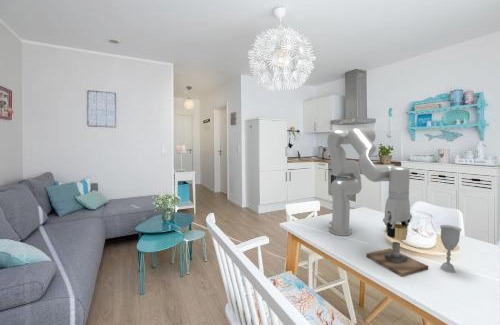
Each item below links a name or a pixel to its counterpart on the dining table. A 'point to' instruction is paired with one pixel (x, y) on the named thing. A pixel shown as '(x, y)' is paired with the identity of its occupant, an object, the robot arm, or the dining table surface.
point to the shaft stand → (397, 261)
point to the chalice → (449, 244)
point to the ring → (400, 232)
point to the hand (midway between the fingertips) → (397, 235)
